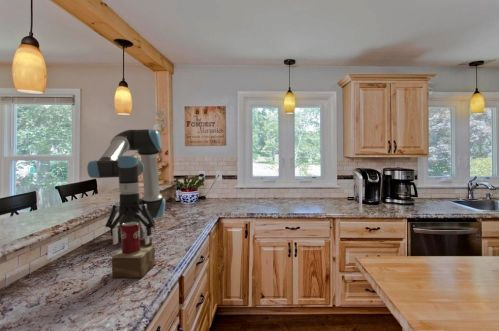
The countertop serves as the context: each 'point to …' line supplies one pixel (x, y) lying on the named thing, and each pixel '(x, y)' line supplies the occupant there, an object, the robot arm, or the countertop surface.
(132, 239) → the soda can
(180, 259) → the countertop surface
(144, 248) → the lid
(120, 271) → the box
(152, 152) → the robot arm
